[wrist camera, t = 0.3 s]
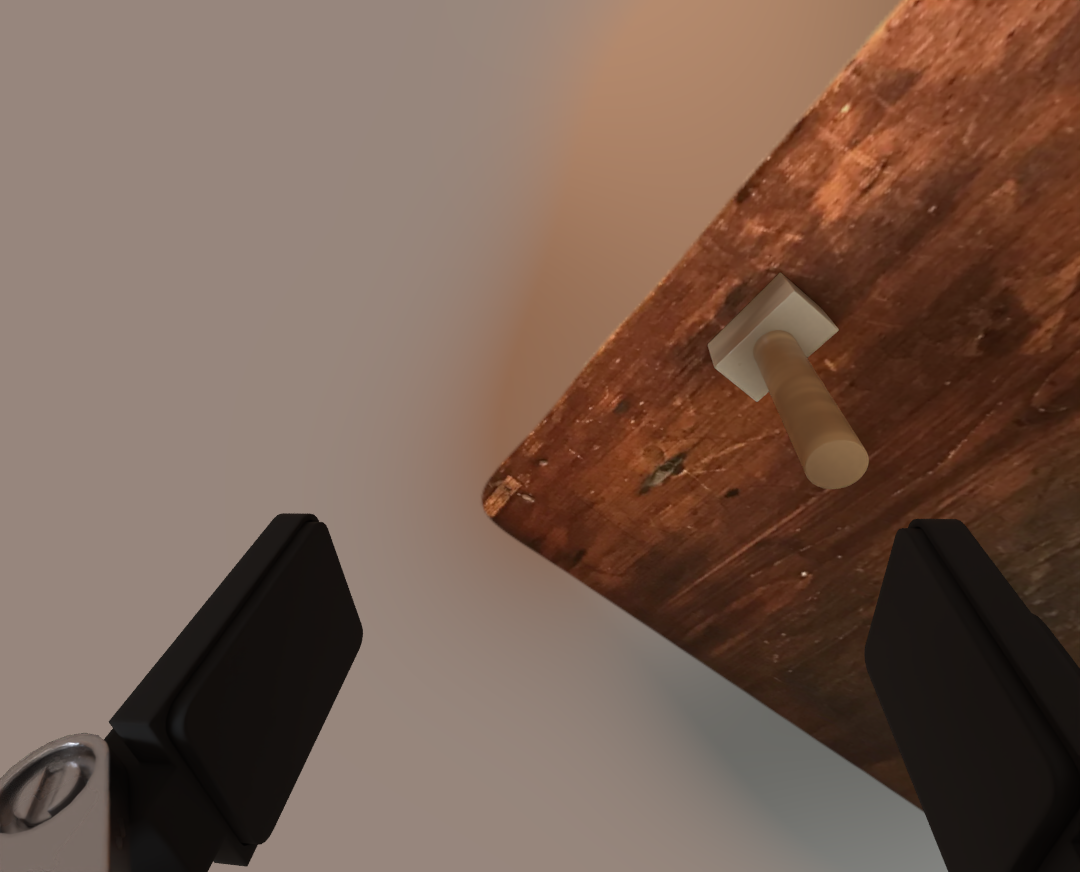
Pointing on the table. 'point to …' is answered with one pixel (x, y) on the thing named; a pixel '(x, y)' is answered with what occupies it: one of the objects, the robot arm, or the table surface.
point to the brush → (791, 378)
